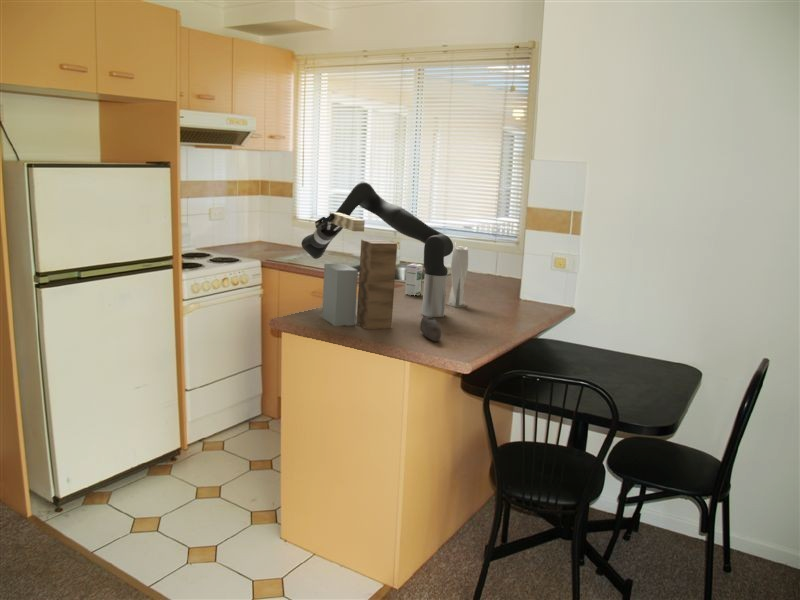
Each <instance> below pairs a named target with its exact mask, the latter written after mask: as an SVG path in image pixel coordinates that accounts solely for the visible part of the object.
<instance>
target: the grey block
mask: <svg viewBox="0 0 800 600" xmlns="http://www.w3.org/2000/svg"><path fill="white" fill-rule="evenodd" d="M323 265H324V266H323V267H324V269H323V286H322V287H323V288H322V307H321V308H322V309H321V315H322V316H321V318H322V319H324V320H325V319H326V320H325V321H326V322H328V323H330V324H331V325H333V326H334V327H342V326H343V325H346V326H355V324H356V323H355V322H356V313H357V312H356V311H357V295H358V290H357V289H358V277H359V274H358V273H359V270H358V269H356V268H355V267H352V266H350V265H347V264H345V263H324V264H323ZM341 325H342V326H341ZM343 327H344V326H343Z"/></svg>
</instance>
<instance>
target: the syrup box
mask: <svg viewBox="0 0 800 600" xmlns="http://www.w3.org/2000/svg"><path fill="white" fill-rule="evenodd" d="M423 268H424V264H419V263H410V264H406V271H405V273H406V275H405V291H404V293H405V294H404V295H406V294H408V295H407V296H411V295H414V296H413V297H416V296H415V295H417V296H421V295H422V290H423V289H422V287H423V285H422V284H423V270H424V269H423ZM420 294H421V295H420Z"/></svg>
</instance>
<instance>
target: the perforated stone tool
mask: <svg viewBox="0 0 800 600" xmlns="http://www.w3.org/2000/svg"><path fill="white" fill-rule="evenodd" d="M419 327H420V330H421V332H422V334H423V335H424V337H425V338H427V339H429V340H430V341H432V342H435V343H436V342H439V341H440V340H441V336H442V330H441V327H440V325H439V323H438V322H437V320H436V319H435V318H434V317H430V316H425V315H423V317H422V318H421V321H420V326H419Z"/></svg>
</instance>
